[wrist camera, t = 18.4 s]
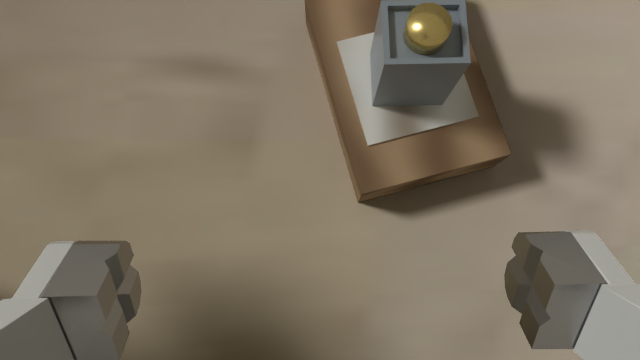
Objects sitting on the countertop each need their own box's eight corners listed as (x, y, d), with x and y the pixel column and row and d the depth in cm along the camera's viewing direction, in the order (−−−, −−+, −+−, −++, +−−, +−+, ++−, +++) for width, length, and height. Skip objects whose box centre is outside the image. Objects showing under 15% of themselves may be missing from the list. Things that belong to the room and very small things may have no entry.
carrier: (372, 106, 39) (384, 64, 31) (369, 52, 40) (381, 0, 32) (442, 104, 39) (470, 62, 31) (438, 51, 40) (465, -1, 32)
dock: (357, 202, 41) (362, 193, 37) (306, 23, 45) (304, -3, 41) (493, 166, 42) (512, 153, 38) (432, -8, 45) (443, -37, 41)
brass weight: (402, 53, 32) (406, 42, 30) (404, 14, 33) (408, 1, 31) (445, 56, 32) (451, 45, 30) (446, 17, 33) (452, 4, 31)
